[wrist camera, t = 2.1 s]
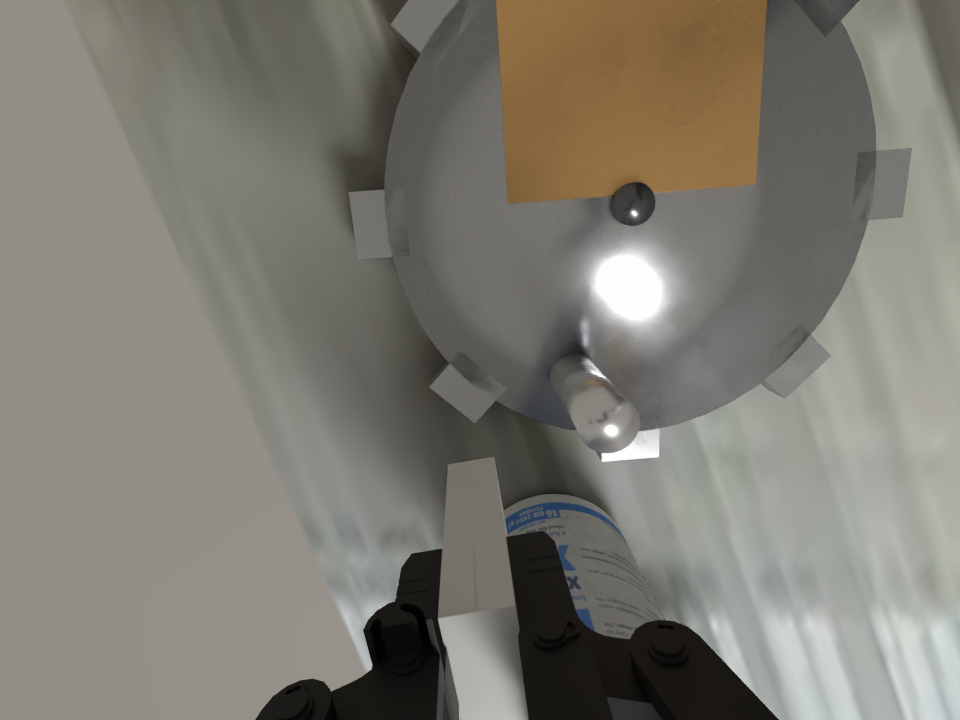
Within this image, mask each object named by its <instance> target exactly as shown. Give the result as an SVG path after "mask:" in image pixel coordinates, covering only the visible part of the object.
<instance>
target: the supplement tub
mask: <svg viewBox="0 0 960 720" xmlns="http://www.w3.org/2000/svg"><path fill="white" fill-rule="evenodd" d="M503 512H504V518H505V524H506V529H507V536H514V535H520V534H526V533H532V532H538V531H544V532H546V533H547V534H548V535H549V536H550V537H551V538H552V539H553V540H554V541H555V543H556V547H557V550H558V553H559V557H560V560H561V563H562V567H563V570H564V573H565V576H566V580H567V583H568V586H569V589H570V593H571V596H572V599H573V603H574V606H575V609H576V612H577V614H578V616H579V618H580V620H581V621H582V622H583V623H584V624H585V625H586V626H587V627H589V628H590V629H591V630H593V631H595V632H597V633H600V634H602V635H605V636H610V637H616V638H624V639H630V638H631V636H632V634H633V633H634V631H635V629H636V628H638V627H640V626H641V625H643V624H644V623H646V622H651V621H656V620H664V618H663V616H662V614H661V611H660V609H659V607H658V605H657V603H656V601H655V599H654V597H653V595H652V593H651V591H650V589H649V587H648V585H647V583H646V581H645V579H644V577H643V575H642V573H641V571H640V569H639V567H638V565H637V563H636V561H635V559H634V557H633V555H632V553H631V550H630V548H629V546H628V544H627V542H626V540H625V538H624V537H623V535H622V533H621V531H620V529H619V528H618V526H617V524H616V523H615V522H614V521H613V520H612V518H611V517H610V516H609V515H608V514H607V513H606V512H604V511H603V510H602V509H601V508H599V507H598V506H596V505H594V504H592V503H591V502H589V501H586V500H584V499H581V498H578V497H574V496H570V495H563V494H544V495H538V496H534V497H530V498H527V499H524V500H522V501H519V502H517V503H515V504H513V505H511V506H510V507H508V508H507V509H505V510H504V511H503ZM522 720H529V718H528V719H522Z"/></svg>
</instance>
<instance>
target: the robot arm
mask: <svg viewBox="0 0 960 720" xmlns="http://www.w3.org/2000/svg"><path fill="white" fill-rule="evenodd" d="M363 631H364V635H365V638H366V642H367V646H368V649H369V653H370V657H371V661H372V664H373V666H372V670H370V671H369V672H368V673H366V674H365V675H364V676H362V677H361V678H359V679H357V680H355V681H353V682H351V683H349V684H347V685H345V686H343V687H341V688H339V689H336V690H334V691H332V692H331V691H330V689H329V688H328V686H327V685H326V684H325V683H324V682H322V681H319V680H315V679H308V680H301V681H298V682H296V683H293V684H291V685H289V686H287V687H285V688H284V689H282V690H281V691H280V692H279V693H277V694H276V695H274V696H273V697H272V698H271V700H270V701H269V702H268V703H267V704H266V705H265V707H264V708H263V709H262V710H261V712H260V714H259V715H258V717H257V718H256V720H459V717H460V720H522V719H528V718H529V720H779V719H778V718H777V717H776V716H775V715H774V714H773V713H772V712H771V711H770V710H769V709H768V708H767V707H766V706H765V705H764V704H763V703H762V702H761V700H760V699H759V698H758V697H757V696H756V695H755V694H754V693H753V692H752V691H751V690H750V689H749V688H748V687H747V686H746V685H745V684H744V683H743V681H742V680H741V679H740V678H739V677H738V676H737V675H736V674H735V673H734V672H733V671H732V670H731V669H730V668H729V667H728V666H727V665H726V663H725V662H724V661H723V660H722V659H721V658H720V657H719V656H718V655H717V654H716V653H715V652H714V651H713V650H712V649H711V648H710V647H709V646H708V644H707V643H706V642H705V641H704V640H703V639H702V638H701V637H700V636H699V635H698V634H696V633H695V632H694V631H692V630H691V629H690V628H689V627H687V626H684V625H682V624H679V623H677V622H674V621H666V620H656V621H651V622H646V623H644V624H643V625H641V626H640V627H638V628H636V629H635V631H634V633H633V634H632V636H631V638H630V639H624V638H616V637H610V636H605V635H602V634H600V633H597V632H595V631H593V630H591V629H590V628H589V627H587V626H586V625H585V624H584V623H583V622H582V621H581V620H580V618H579V616H578V614H577V612H576V609H575V606H574V603H573V599H572V596H571V593H570V589H569V586H568V583H567V580H566V576H565V573H564V570H563V567H562V563H561V560H560V557H559V553H558V550H557V547H556V543H555V541H554V540H553V539H552V538H551V537H550V536H549V535H548V534H547V533H546V532H544V531H538V532H532V533H526V534H520V535H514V536H507V529H506V524H505V518H504V512H503V506H502V500H501V494H500V488H499V483H498V477H497V471H496V465H495V459H494V457H489V458H483V459H477V460H471V461H465V462H459V463H453V464H448V473H447V488H446V503H445V518H444V533H443V548H442V549H437V550H431V551H425V552H419V553H413V554H411V555H410V557H409V558H408V560H407V561H406V562H405V564H404V565H403V566H402V568H401V573H400V579H399V586H398V589H397V598H396V600H395V602H392V603H389V604H387V605H386V606H384V607H382V608H381V609H379V610H377V611H376V612H375V613H374V615H373V616H372V617H371V618H370V619H369V620H368V622H367V624H366V626H365V628H364V630H363Z"/></svg>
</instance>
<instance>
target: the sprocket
mask: <svg viewBox="0 0 960 720" xmlns="http://www.w3.org/2000/svg"><path fill="white" fill-rule="evenodd" d="M858 1H859V0H408V1H407V2H406V4H405V5H404V7H403V8H402V9H401V11H400V12H399V13H398V15H397V16H396V18H395V19H394V20H393V22H392V23H391V27H392V30H393V33H394V35H395V38H396V39H397V40H398V41H399V42H400V43H401V44H402V45H403V46H404V47H405V48H406V49H407V50H408V51H409V52H410V53H411V54H413V55H414V56H415V57H416V58H417V61H416V63H415V65H414V67H413V69H412V71H411V73H410V75H409V77H408V80H407V82H406V85H405V88H404V90H403V93H402V96H401V98H400V101H399V104H398V106H397V109H396V113H395V117H394V122H393V126H392V130H391V134H390V138H389V142H388V150H387V159H386V168H385V177H384V189H383V190H370V191H357V192H349V199H350V207H351V214H352V222H353V229H354V236H355V244H356V251H357V258H358V260H363V259H376V258H389V257H393V261H394V265H395V268H396V272H397V276H398V279H399V281H400V283H401V286H402V288H403V291H404V293H405V295H406V298H407V300H408V303H409V305H410V307H411V309H412V311H413V312H414V314H415V316H416V318H417V319H418V321H419V323H420V325H421V326H422V328H423V330H424V332H425V333H426V335H427V336H428V337H429V338H430V340H431V341H432V342H433V344H434V345H435V346H436V348H437V349H438V350H439V352H440V353H441V354H442V356H443V357H444V358H445V359H446V360H447V361H446V362H445V364H444V365H443V366H442V367H441V368H440V369H439V370H438V372H437V373H436V374H435V375H434V376H433V377H432V379H431V382H430V386H429V388H431V389H432V390H433V391H434V392H436V393H437V394H438V395H439V396H441V397H442V398H443V399H444V400H446V401H447V402H448V403H450V404H451V405H452V406H453V407H455V408H456V409H457V410H458V411H460V412H461V413H462V414H463V415H465V416H466V417H467V418H468V419H470V420H471V421H472V422H473V423H476V422H477V421H478V420H479V419H480V417H481V416H482V415H483V414H484V413H485V412H486V411H487V410H488V409H489V408H490V406H491V405H492V404H493V403H494V402H495V401H497V402H499V403H501V404H502V405H504V406H506V407H508V408H509V409H511V410H513V411H515V412H518V413H520V414H522V415H525V416H527V417H530V418H532V419H534V420H537V421H540V422H543V423H547V424H550V425H554V426H558V427H561V428H565V429H572V430H577V431H578V432H579V434H580V436H581V438H582V440H583V441H584V443H585V444H586V445H587V446H588V447H590V448H591V449H593V450H595V451H596V453H597V454H598V456H599V458H600V459H601V461H615V460H627V459H640V458H653V457H659V428H662V427H667V426H671V425H676V424H679V423H682V422H685V421H688V420H691V419H693V418H696V417H699V416H702V415H705V414H707V413H709V412H711V411H713V410H715V409H717V408H719V407H721V406H723V405H726V404H728V403H730V402H732V401H733V400H735V399H736V398H738V397H740V396H741V395H743V394H744V393H746V392H747V391H749V390H751V389H752V388H754V387H755V386H757V385H758V384H759V383H761V384H762V385H763V386H764V387H765V388H767V389H768V390H769V391H771V392H773V393H775V394H777V395H779V396H781V397H783V398H785V399H786V398H787V397H788V396H789V395H790V394H791V393H792V392H793V391H794V390H795V389H796V388H797V387H798V386H800V385H801V384H802V383H803V382H804V381H805V380H806V379H807V378H808V377H809V376H810V375H811V374H812V373H813V372H814V371H815V370H816V369H817V368H818V367H819V366H821V365H822V364H823V363H824V362H825V361H826V360H827V359H828V358H829V357H830V356H831V355H830V354H829V353H828V352H827V351H826V350H825V349H824V348H823V347H822V346H821V345H820V344H819V343H818V342H817V341H816V340H815V339H814V338H813V337H812V336H811V333H812V332H813V331H814V330H815V328H816V327H817V326H818V325H819V323H820V322H821V321H822V320H823V318H824V317H825V315H826V313H827V312H828V310H829V309H830V307H831V306H832V304H833V302H834V301H835V299H836V298H837V296H838V294H839V293H840V291H841V289H842V287H843V285H844V283H845V281H846V279H847V277H848V274H849V272H850V270H851V268H852V266H853V264H854V262H855V259H856V256H857V254H858V251H859V248H860V245H861V242H862V239H863V236H864V233H865V230H866V226H867V222H868V220H873V219H886V218H899V217H902V216H903V209H904V202H905V194H906V187H907V179H908V172H909V165H910V157H911V150H912V148H909V149H896V150H883V151H876V131H875V123H874V116H873V110H872V103H871V97H870V92H869V89H868V86H867V82H866V79H865V75H864V72H863V69H862V65H861V62H860V60H859V57H858V55H857V53H856V51H855V48H854V46H853V44H852V42H851V40H850V37H849V35H848V33H847V31H846V29H845V27H844V26H843V24H842V23H841V20H842V19H843V18H844V16H845V15H846V14H847V13H848V12H849V11H850V10H851V9H852V8H853V7H854V5H855V4H856V3H857V2H858Z"/></svg>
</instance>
